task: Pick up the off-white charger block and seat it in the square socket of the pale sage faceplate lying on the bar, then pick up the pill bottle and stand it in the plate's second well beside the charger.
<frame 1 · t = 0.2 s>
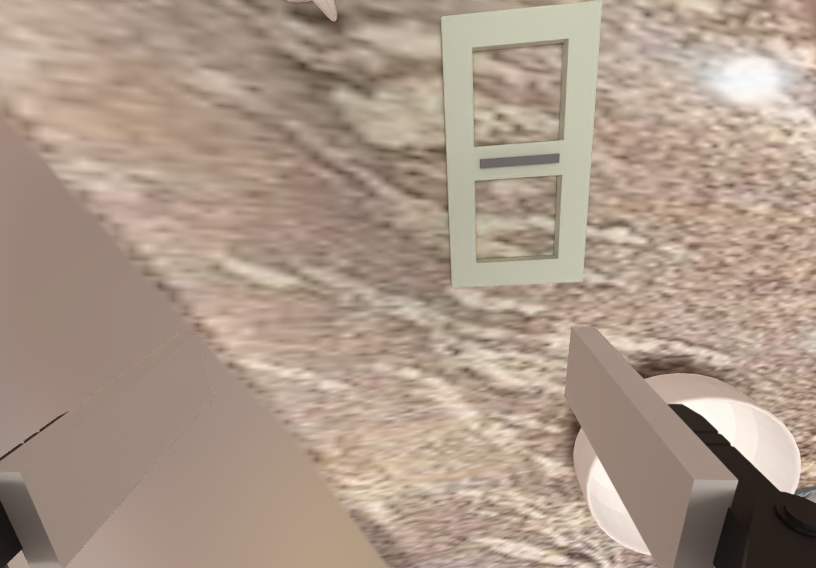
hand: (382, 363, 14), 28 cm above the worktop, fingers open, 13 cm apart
faceplate: (515, 160, 38), on the worktop
bowl: (645, 426, 47), on the worktop
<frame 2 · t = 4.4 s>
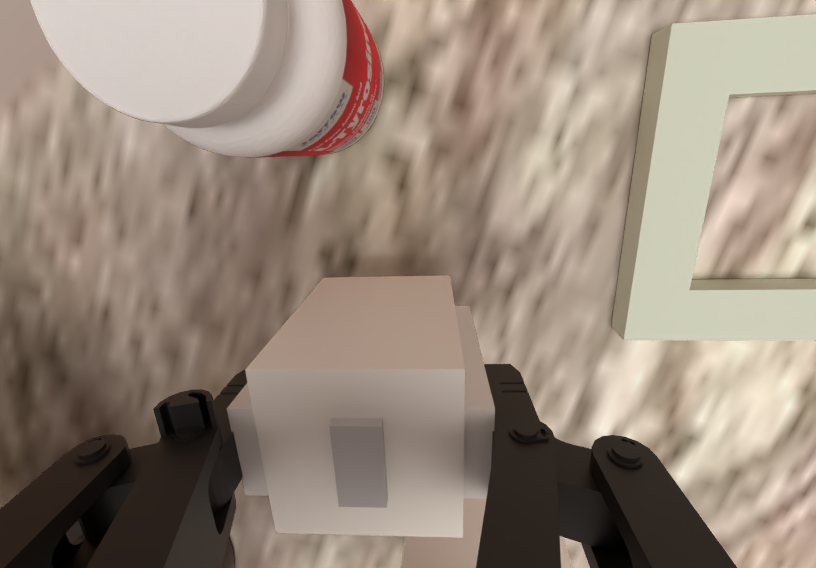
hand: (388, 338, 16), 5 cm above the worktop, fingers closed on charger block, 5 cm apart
charger block: (389, 334, 16), point 5 cm above the worktop, touching gripper
pill bottle: (319, 82, 18), on the worktop
mug: (502, 486, 24), on the worktop
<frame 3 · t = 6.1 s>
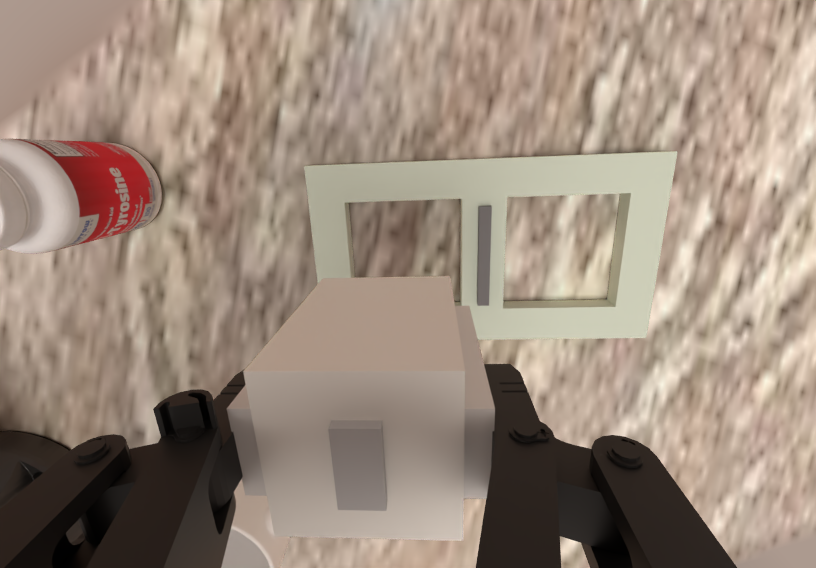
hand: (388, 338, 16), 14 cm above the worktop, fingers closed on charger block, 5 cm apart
faceplate: (480, 250, 29), on the worktop
charger block: (389, 335, 16), point 14 cm above the worktop, touching gripper
pill bottle: (126, 186, 29), on the worktop
mug: (287, 442, 36), on the worktop
when the fingers open (2 cm above the worktop, at t = 8.2 s): charger block drops 1 cm, resting in faceplate.
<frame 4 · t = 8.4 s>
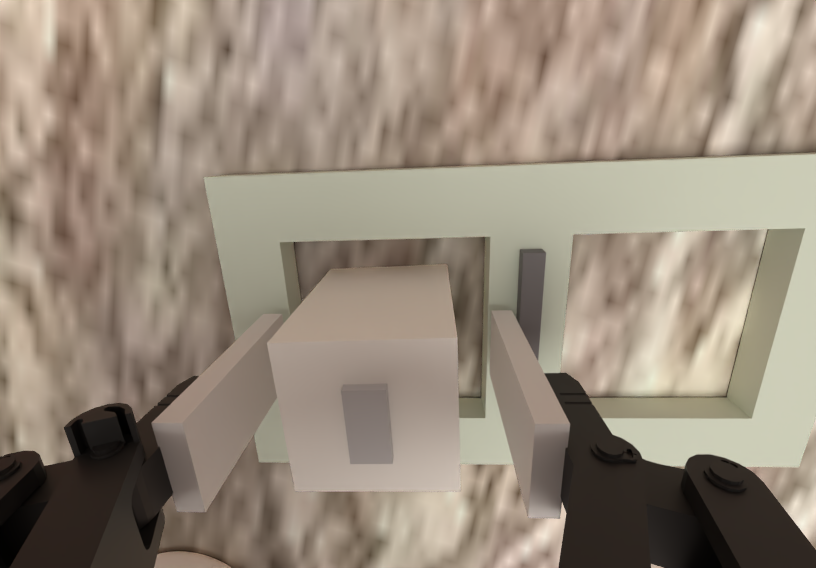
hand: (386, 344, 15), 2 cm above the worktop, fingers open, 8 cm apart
faceplate: (517, 319, 17), on the worktop
charger block: (392, 320, 18), resting in faceplate
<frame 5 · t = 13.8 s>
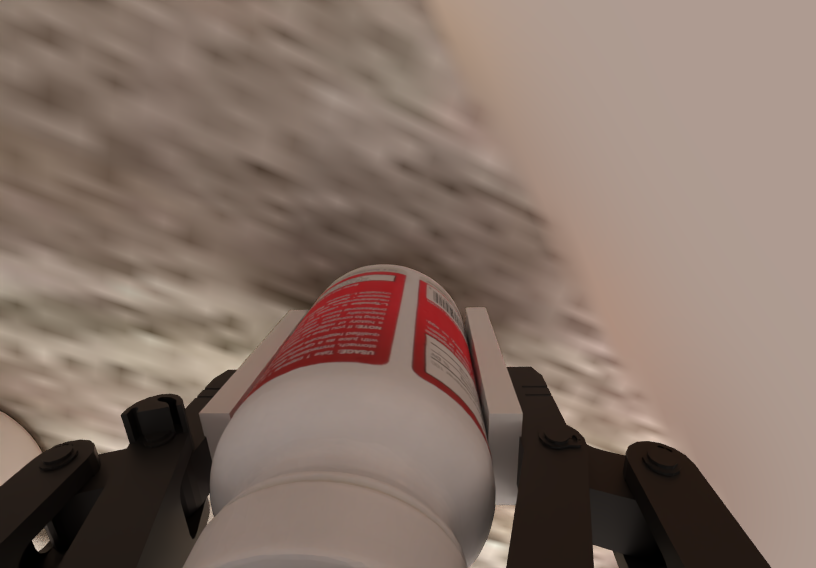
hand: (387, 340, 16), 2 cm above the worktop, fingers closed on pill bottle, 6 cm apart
pill bottle: (389, 330, 16), point 1 cm above the worktop, touching gripper
mug: (6, 477, 23), on the worktop
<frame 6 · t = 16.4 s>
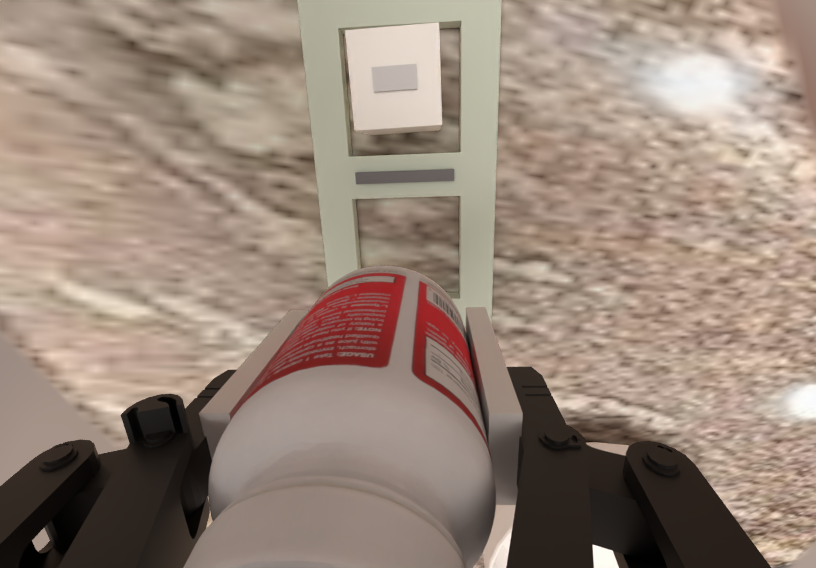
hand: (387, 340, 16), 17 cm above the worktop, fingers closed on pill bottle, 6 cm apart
faceplate: (406, 175, 30), on the worktop
charger block: (403, 95, 28), resting in faceplate
pill bottle: (389, 332, 16), point 16 cm above the worktop, touching gripper
bowl: (575, 493, 39), on the worktop
when the fingers open (3 cm above the worktop, at t = 19.3 s): pill bottle drops 2 cm, resting in faceplate.
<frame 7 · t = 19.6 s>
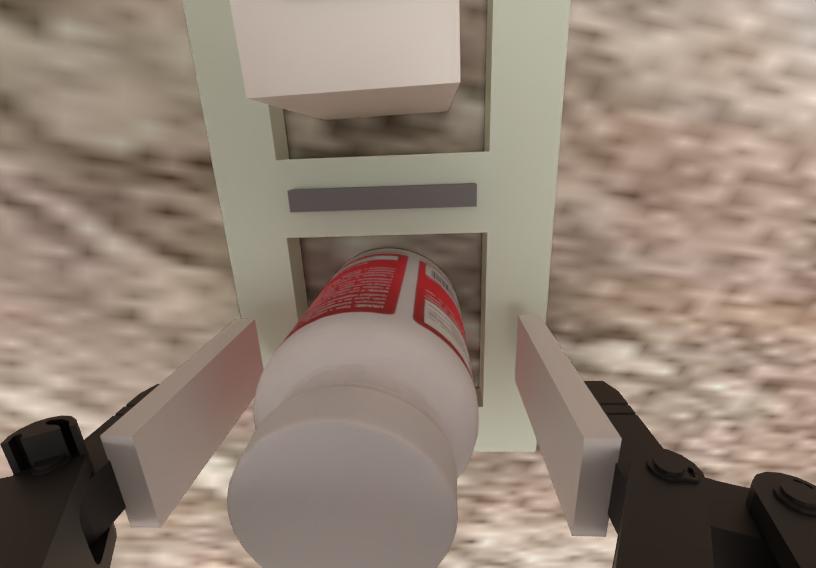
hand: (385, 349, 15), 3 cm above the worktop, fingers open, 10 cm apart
faceplate: (387, 192, 17), on the worktop
charger block: (379, 44, 15), resting in faceplate
pill bottle: (393, 308, 19), resting in faceplate
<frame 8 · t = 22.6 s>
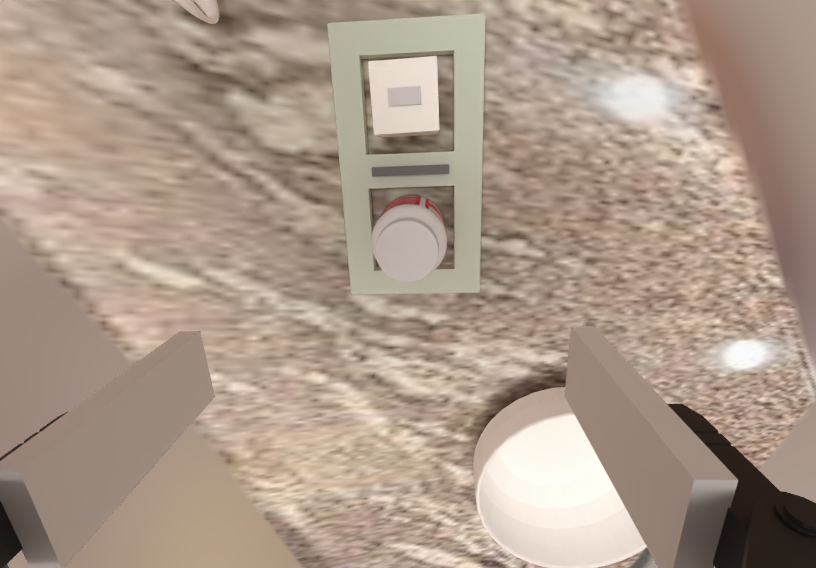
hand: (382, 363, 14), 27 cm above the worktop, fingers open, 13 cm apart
faceplate: (411, 169, 38), on the worktop
charger block: (409, 106, 36), resting in faceplate
pill bottle: (412, 224, 40), resting in faceplate
bowl: (551, 437, 47), on the worktop
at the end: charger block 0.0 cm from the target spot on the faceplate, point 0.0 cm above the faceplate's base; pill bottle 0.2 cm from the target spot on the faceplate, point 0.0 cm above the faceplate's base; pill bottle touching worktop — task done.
